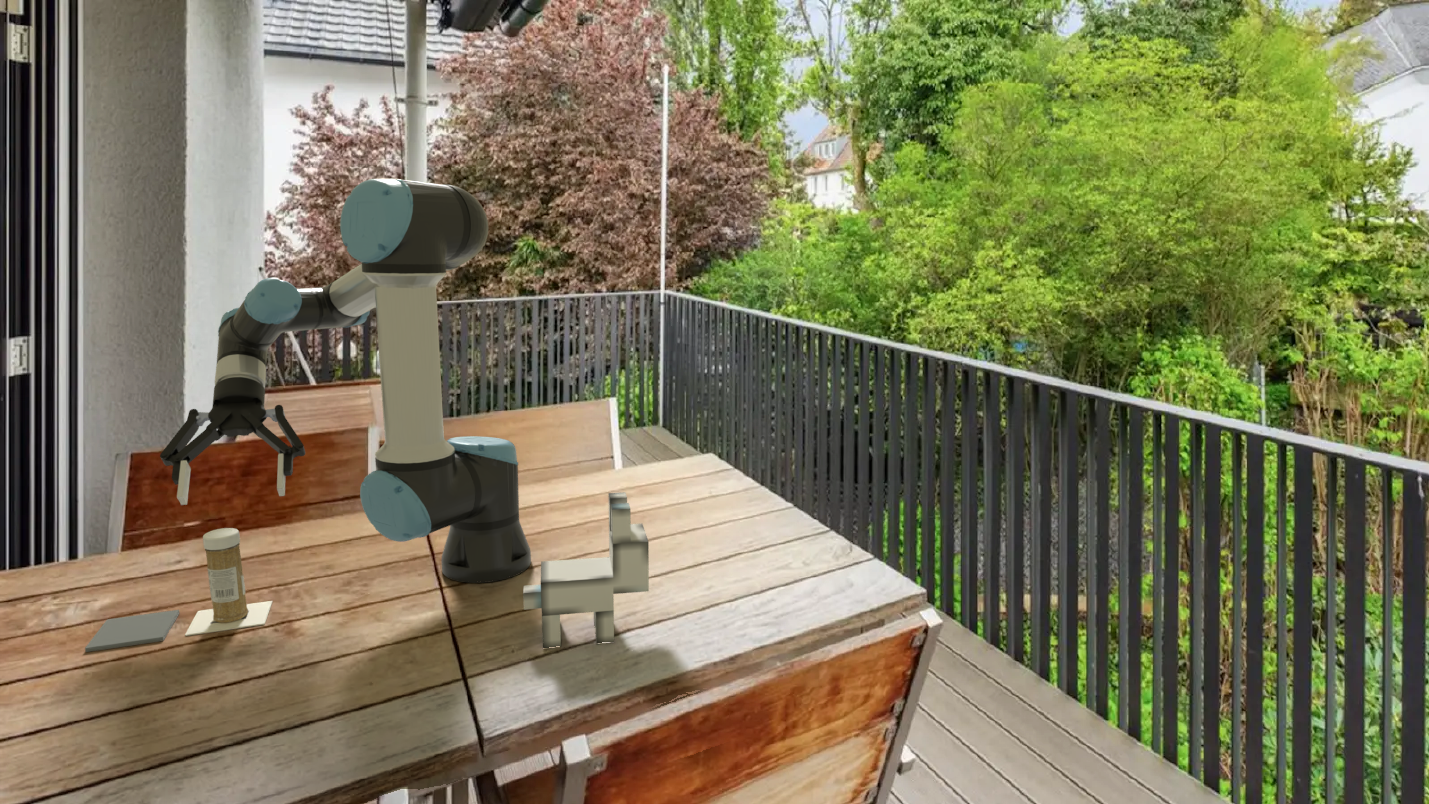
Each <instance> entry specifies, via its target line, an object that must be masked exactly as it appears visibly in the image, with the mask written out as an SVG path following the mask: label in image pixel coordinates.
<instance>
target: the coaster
mask: <svg viewBox="0 0 1429 804" xmlns="http://www.w3.org/2000/svg"><path fill="white" fill-rule="evenodd" d="M179 615H180V609H173V610H166V611H159V612H152V613H143V614H137V615H130V616H128V615H127V616H124V617H114V618H108V619H106V620H105V621H104V623H103V624H102V626H100V628H99V629H98V631H97V632H96V633H95V634H94V636H93V637H92V639H91V640H90V641H89V642H88V643H87V645H86V646H85V648H84V651H85V653H89V652H98V651H103V650H111V649H117V648H123V647H130V646H138V645H144V644H150V643H158V642H164V640H165V639H166V637H167V635H168V634H169V632H170V631H171V628H172V627H173V625H174V624H175V622H176V620H177V618H178V617H179ZM169 630H170V631H169Z"/></svg>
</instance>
